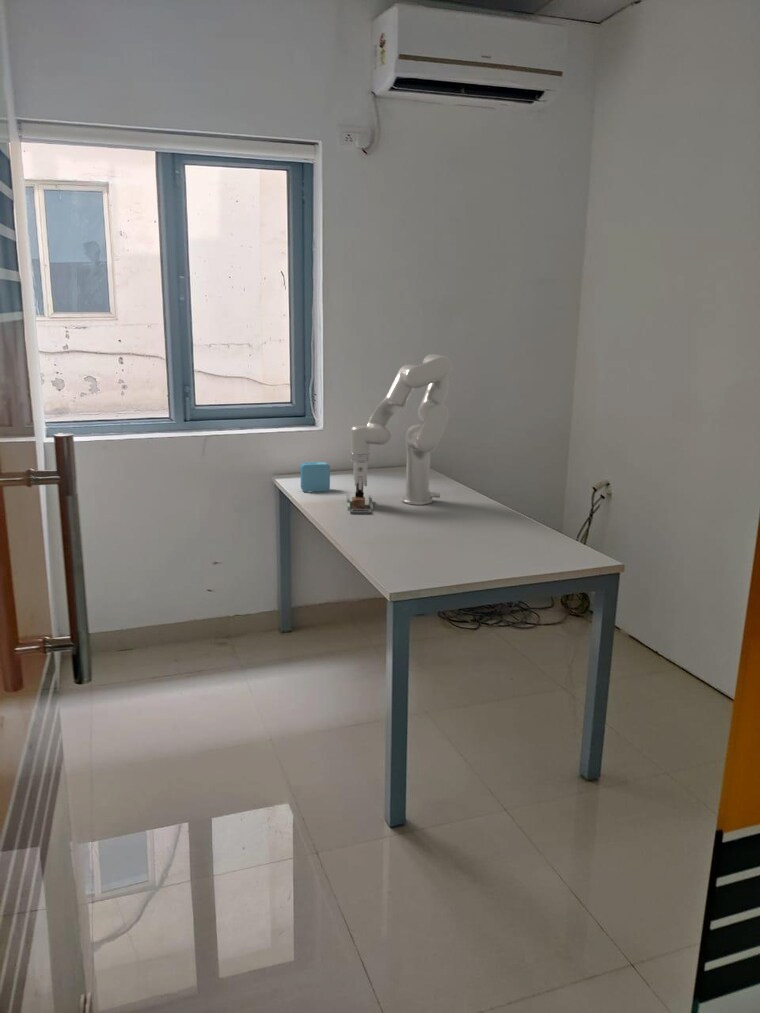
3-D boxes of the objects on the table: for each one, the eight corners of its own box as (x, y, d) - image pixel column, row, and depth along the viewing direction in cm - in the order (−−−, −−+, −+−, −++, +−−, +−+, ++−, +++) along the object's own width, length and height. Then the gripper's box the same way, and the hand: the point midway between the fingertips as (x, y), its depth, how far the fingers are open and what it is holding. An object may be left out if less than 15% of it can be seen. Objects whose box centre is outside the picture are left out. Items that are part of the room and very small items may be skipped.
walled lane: (370, 501, 320) (371, 495, 319) (371, 505, 313) (372, 499, 313) (346, 501, 319) (346, 495, 319) (347, 505, 313) (347, 499, 312)
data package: (328, 488, 339) (328, 461, 336) (329, 491, 335) (330, 464, 332) (300, 490, 337) (300, 462, 333) (302, 492, 332) (302, 464, 329)
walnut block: (364, 506, 312) (364, 497, 311) (364, 510, 307) (365, 500, 306) (352, 506, 312) (352, 497, 311) (352, 509, 307) (352, 500, 306)
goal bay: (372, 506, 312) (372, 502, 312) (372, 510, 307) (373, 506, 306) (347, 506, 312) (347, 502, 311) (347, 510, 306) (347, 506, 306)
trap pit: (370, 511, 305) (370, 509, 304) (371, 514, 301) (371, 511, 300) (350, 511, 304) (350, 509, 304) (350, 514, 300) (350, 511, 300)
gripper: (370, 460, 302) (369, 506, 307) (368, 453, 316) (367, 497, 321) (351, 460, 301) (350, 506, 306) (350, 453, 316) (349, 497, 321)
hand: (359, 501), depth 314 cm, fingers closed
